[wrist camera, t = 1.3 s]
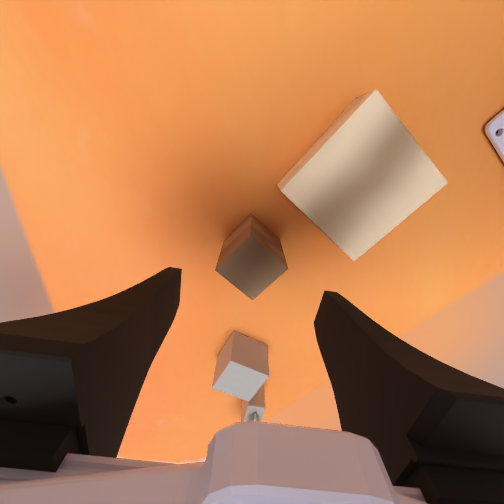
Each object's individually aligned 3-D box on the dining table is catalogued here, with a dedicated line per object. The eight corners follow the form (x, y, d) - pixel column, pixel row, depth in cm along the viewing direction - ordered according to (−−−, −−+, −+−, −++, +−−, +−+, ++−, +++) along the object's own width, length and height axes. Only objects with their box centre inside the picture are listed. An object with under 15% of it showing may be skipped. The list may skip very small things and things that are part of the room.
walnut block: (279, 240, 22) (287, 268, 17) (252, 265, 23) (252, 300, 18) (251, 213, 21) (250, 235, 16) (223, 241, 22) (215, 270, 17)
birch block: (416, 176, 20) (448, 182, 17) (339, 244, 22) (353, 261, 19) (354, 99, 18) (376, 89, 15) (276, 183, 20) (280, 190, 17)
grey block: (267, 344, 27) (269, 376, 23) (249, 368, 28) (248, 401, 24) (233, 330, 26) (230, 360, 22) (217, 355, 27) (212, 388, 24)
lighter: (248, 368, 28) (247, 448, 21) (263, 370, 28) (267, 451, 21) (237, 409, 31) (232, 492, 23) (251, 411, 31) (250, 494, 23)
